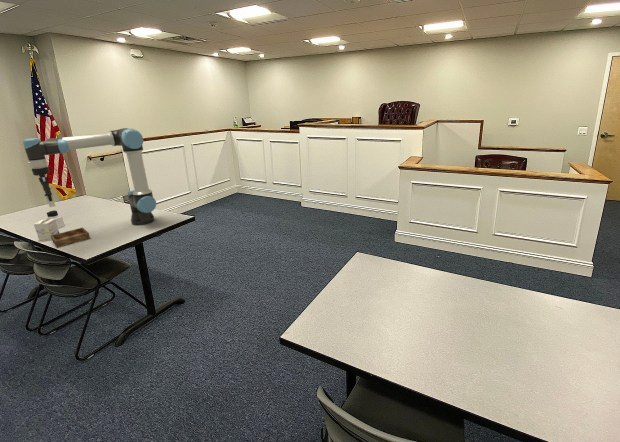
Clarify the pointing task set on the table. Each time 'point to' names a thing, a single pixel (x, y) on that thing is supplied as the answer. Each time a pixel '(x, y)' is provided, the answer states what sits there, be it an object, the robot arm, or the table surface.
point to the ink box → (46, 229)
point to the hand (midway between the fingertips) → (51, 204)
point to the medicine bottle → (56, 218)
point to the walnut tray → (70, 237)
